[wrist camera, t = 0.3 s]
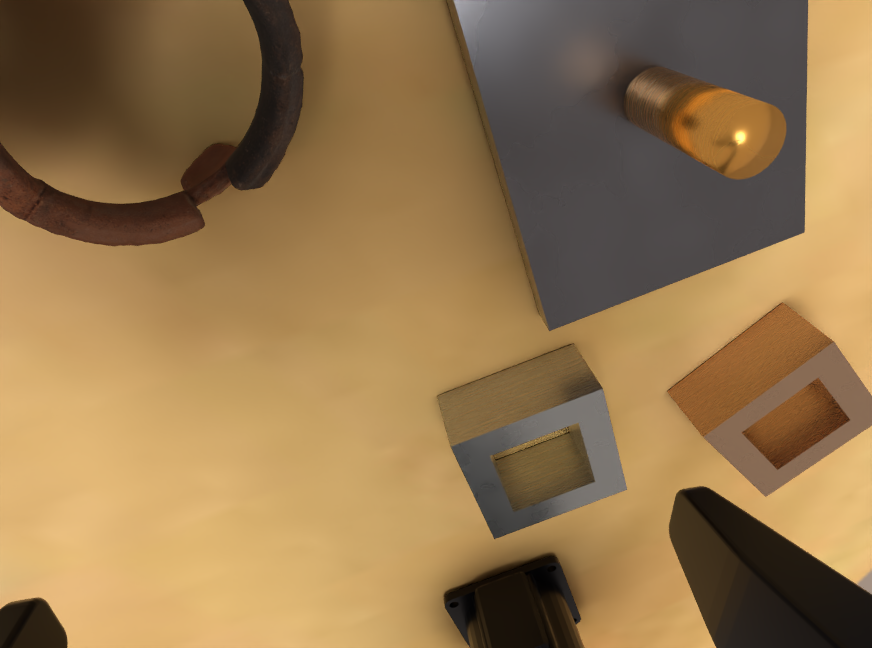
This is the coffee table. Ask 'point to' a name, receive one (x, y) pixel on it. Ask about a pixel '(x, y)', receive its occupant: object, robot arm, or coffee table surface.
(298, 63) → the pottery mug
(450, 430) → the grey square frame
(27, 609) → the robot arm
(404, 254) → the coffee table surface
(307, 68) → the coffee table surface
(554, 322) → the keeper
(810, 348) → the brown hollow square block
